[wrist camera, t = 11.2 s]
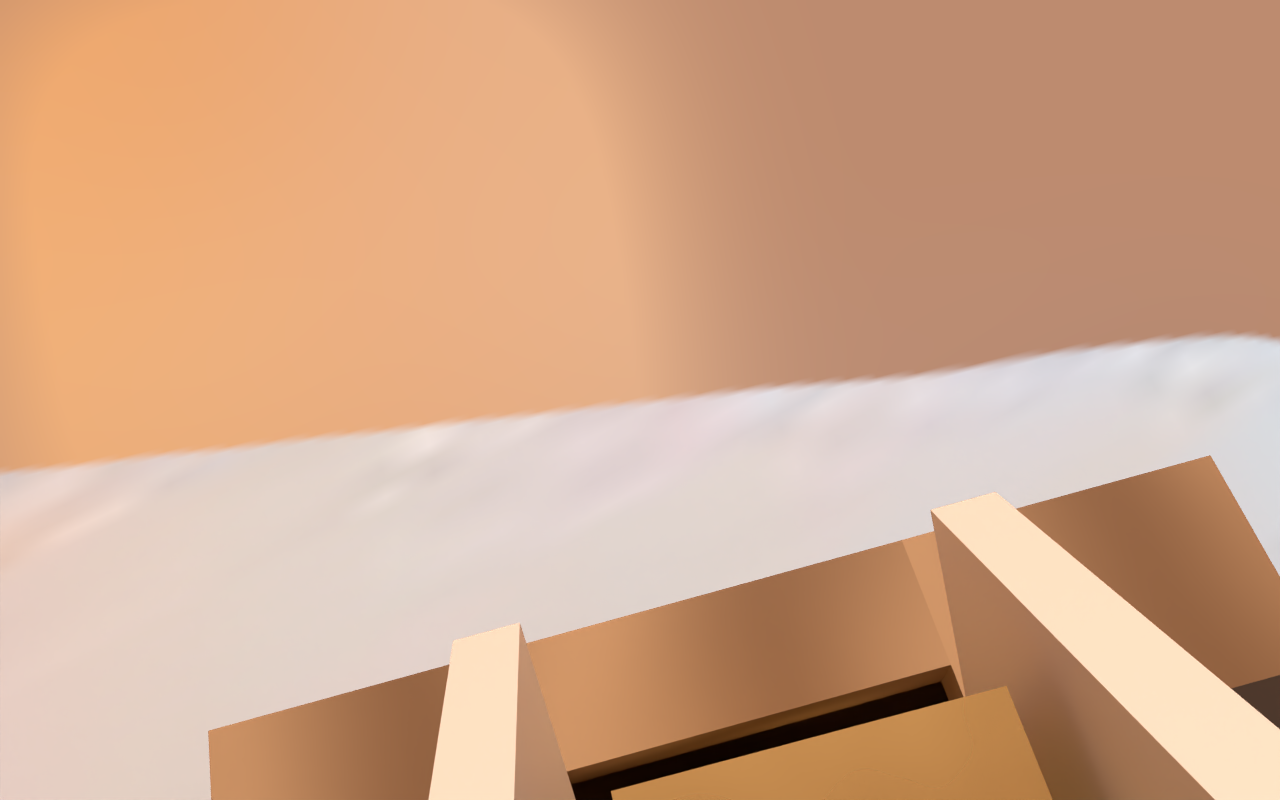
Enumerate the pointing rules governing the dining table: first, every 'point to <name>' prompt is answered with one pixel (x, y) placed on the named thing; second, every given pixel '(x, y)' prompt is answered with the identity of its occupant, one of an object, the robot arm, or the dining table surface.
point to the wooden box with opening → (785, 654)
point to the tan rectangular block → (880, 761)
